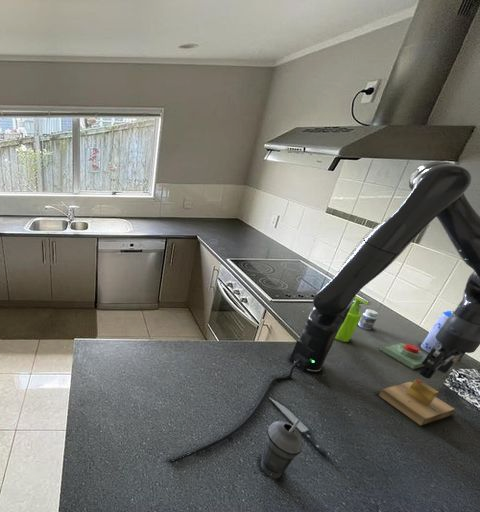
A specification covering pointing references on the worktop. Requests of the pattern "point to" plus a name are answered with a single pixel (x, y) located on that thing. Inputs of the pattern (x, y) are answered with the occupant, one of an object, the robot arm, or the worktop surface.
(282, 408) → the chef's knife
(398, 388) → the lock plate
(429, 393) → the lock knob
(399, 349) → the box
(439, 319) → the aerosol can
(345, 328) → the soap dispenser
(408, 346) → the alarm button
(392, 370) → the worktop surface
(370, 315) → the pill bottle
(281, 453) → the beverage cup
